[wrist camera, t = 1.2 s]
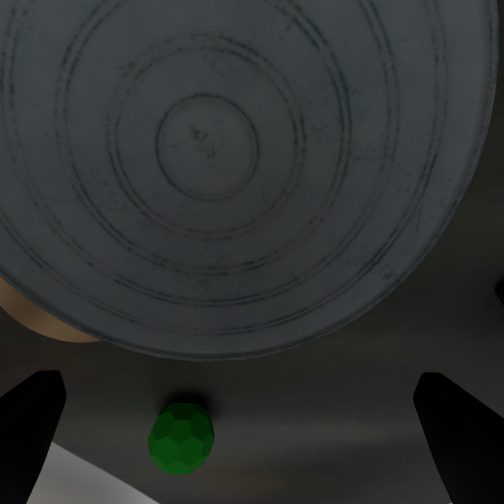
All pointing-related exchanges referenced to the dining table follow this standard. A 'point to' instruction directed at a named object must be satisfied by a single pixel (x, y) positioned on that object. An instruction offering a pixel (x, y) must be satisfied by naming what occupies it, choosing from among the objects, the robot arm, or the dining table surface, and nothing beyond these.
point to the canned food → (233, 161)
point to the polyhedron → (181, 438)
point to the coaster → (38, 317)
